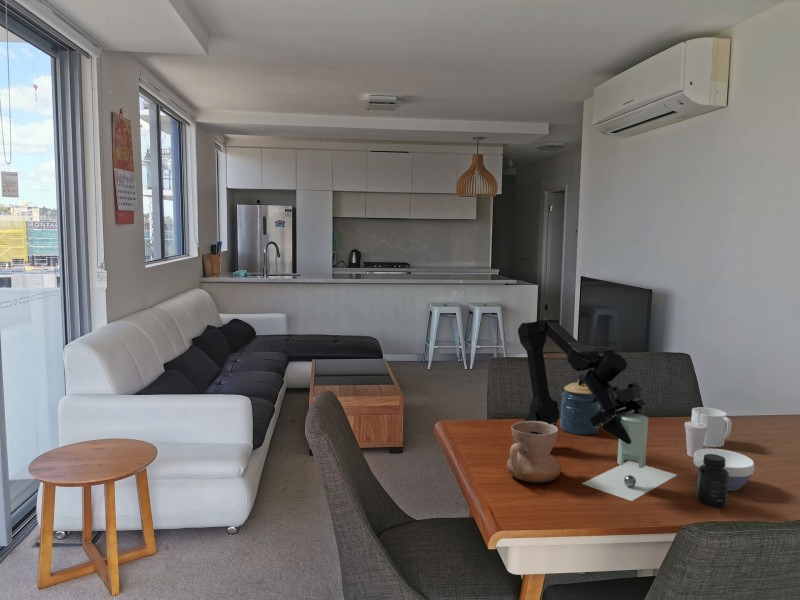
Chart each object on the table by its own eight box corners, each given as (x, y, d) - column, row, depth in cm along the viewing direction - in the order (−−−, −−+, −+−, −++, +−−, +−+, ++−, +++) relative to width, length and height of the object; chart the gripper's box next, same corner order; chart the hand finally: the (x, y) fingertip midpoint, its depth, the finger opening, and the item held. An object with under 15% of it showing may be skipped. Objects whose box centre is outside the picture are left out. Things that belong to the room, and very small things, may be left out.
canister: (599, 437, 204) (602, 385, 202) (558, 433, 208) (561, 381, 206) (598, 425, 217) (601, 376, 215) (560, 422, 220) (562, 373, 218)
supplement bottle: (690, 497, 158) (693, 452, 157) (715, 497, 159) (719, 451, 158) (705, 509, 152) (709, 462, 150) (732, 509, 152) (736, 461, 151)
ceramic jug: (533, 462, 181) (534, 415, 179) (574, 478, 169) (576, 427, 168) (489, 477, 170) (490, 427, 168) (530, 495, 158) (531, 441, 157)
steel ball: (623, 487, 162) (624, 476, 162) (623, 483, 165) (624, 472, 165) (635, 489, 161) (636, 478, 161) (635, 485, 164) (636, 474, 164)
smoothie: (708, 460, 185) (711, 414, 184) (685, 458, 187) (688, 412, 185) (702, 452, 192) (705, 408, 190) (680, 450, 193) (683, 406, 191)
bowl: (751, 501, 157) (753, 472, 156) (688, 487, 165) (690, 460, 164) (753, 482, 169) (756, 455, 168) (695, 470, 177) (697, 444, 176)
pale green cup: (616, 466, 161) (619, 419, 159) (617, 457, 167) (620, 411, 166) (645, 470, 158) (648, 422, 157) (645, 460, 165) (648, 415, 163)
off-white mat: (631, 502, 155) (631, 500, 155) (581, 485, 165) (581, 483, 165) (677, 476, 172) (677, 474, 172) (629, 462, 182) (629, 460, 182)
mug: (683, 440, 203) (685, 409, 202) (702, 435, 208) (704, 406, 207) (719, 452, 192) (721, 420, 191) (738, 447, 197) (741, 416, 196)
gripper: (602, 378, 157) (640, 431, 150) (641, 368, 169) (678, 418, 162) (574, 401, 164) (609, 453, 157) (613, 391, 176) (647, 439, 169)
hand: (637, 440), depth 161 cm, fingers closed on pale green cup, 7 cm apart
